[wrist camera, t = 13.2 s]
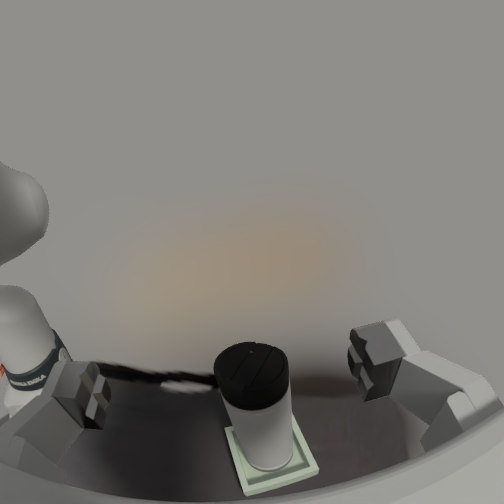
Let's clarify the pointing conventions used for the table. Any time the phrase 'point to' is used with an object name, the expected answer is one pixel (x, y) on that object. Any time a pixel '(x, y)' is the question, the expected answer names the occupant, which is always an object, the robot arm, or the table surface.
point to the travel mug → (258, 402)
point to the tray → (264, 481)
